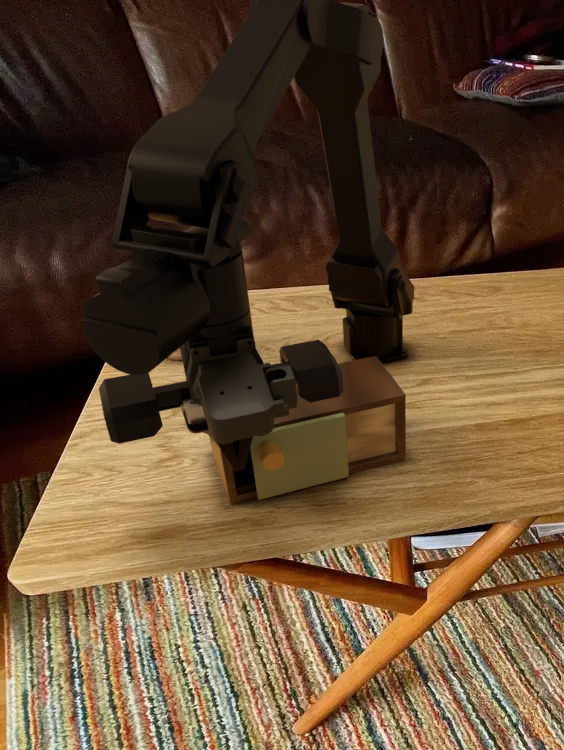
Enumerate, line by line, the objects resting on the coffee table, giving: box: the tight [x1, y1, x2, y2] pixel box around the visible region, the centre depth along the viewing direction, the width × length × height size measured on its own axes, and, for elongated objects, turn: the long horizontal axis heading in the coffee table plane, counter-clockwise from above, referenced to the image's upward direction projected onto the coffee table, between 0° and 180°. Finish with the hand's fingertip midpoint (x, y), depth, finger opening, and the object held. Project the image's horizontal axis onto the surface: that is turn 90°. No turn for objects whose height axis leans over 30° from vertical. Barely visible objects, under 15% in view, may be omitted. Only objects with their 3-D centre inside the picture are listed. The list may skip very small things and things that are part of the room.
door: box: [250, 413, 350, 500], centre depth 71 cm, size 9×3×7 cm, turn 115°
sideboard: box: [208, 356, 407, 505], centre depth 76 cm, size 18×8×8 cm, turn 115°
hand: (238, 468), depth 68 cm, fingers closed
